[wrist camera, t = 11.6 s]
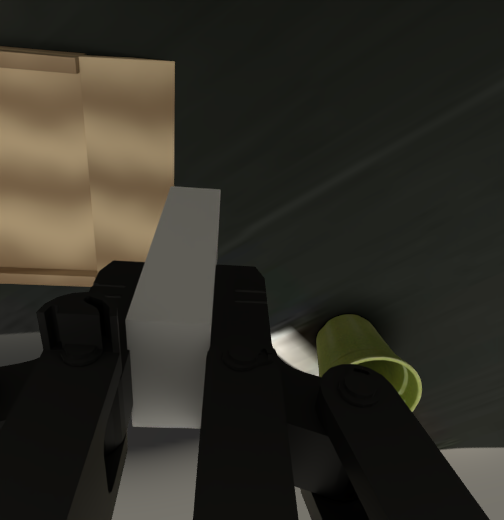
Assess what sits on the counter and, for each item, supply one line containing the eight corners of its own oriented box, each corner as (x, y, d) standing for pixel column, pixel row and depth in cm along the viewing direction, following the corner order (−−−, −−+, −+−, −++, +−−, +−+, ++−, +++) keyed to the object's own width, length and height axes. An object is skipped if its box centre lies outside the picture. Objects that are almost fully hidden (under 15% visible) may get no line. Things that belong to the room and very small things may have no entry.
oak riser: (-83, 36, 32) (-121, 40, 29) (185, 60, 34) (181, 67, 31) (-30, 256, 41) (-54, 281, 37) (182, 265, 43) (178, 289, 39)
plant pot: (292, 311, 45) (307, 372, 38) (385, 289, 45) (420, 347, 37) (307, 377, 50) (324, 444, 42) (392, 359, 49) (424, 423, 42)
